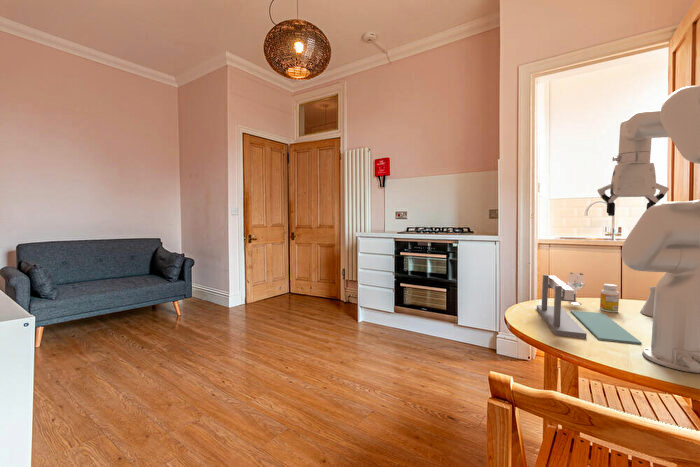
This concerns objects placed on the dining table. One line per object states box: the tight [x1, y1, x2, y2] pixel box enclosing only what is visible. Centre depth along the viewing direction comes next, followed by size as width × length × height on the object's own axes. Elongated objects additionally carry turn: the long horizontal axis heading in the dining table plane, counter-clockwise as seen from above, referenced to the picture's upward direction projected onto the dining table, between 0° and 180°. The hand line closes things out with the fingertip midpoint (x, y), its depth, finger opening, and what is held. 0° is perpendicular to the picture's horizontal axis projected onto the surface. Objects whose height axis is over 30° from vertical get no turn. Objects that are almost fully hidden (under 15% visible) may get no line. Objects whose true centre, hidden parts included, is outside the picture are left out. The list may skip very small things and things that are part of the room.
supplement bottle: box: [599, 283, 620, 313], centre depth 123 cm, size 5×5×10 cm
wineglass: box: [567, 272, 586, 306], centre depth 133 cm, size 6×6×12 cm
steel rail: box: [547, 274, 575, 300], centre depth 110 cm, size 24×2×3 cm, turn 160°
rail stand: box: [536, 274, 587, 339], centre depth 111 cm, size 28×8×14 cm, turn 160°
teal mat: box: [570, 310, 643, 345], centre depth 107 cm, size 28×10×1 cm, turn 160°
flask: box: [640, 286, 656, 318], centre depth 118 cm, size 7×7×10 cm
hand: (630, 215), depth 103 cm, fingers open, 9 cm apart
